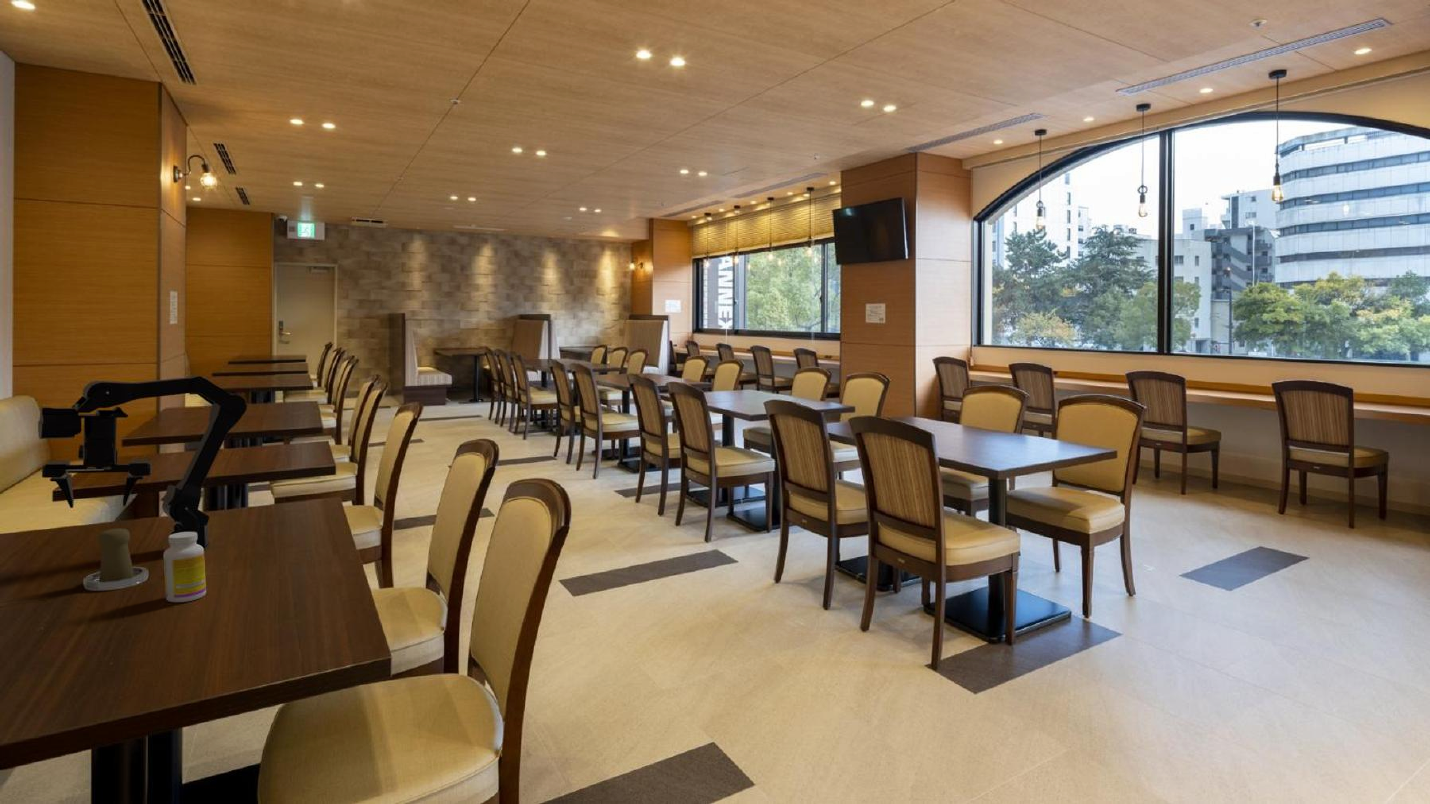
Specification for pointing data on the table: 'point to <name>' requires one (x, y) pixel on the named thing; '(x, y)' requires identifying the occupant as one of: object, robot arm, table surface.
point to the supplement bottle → (184, 568)
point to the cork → (115, 555)
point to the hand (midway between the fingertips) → (98, 506)
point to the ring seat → (94, 585)
